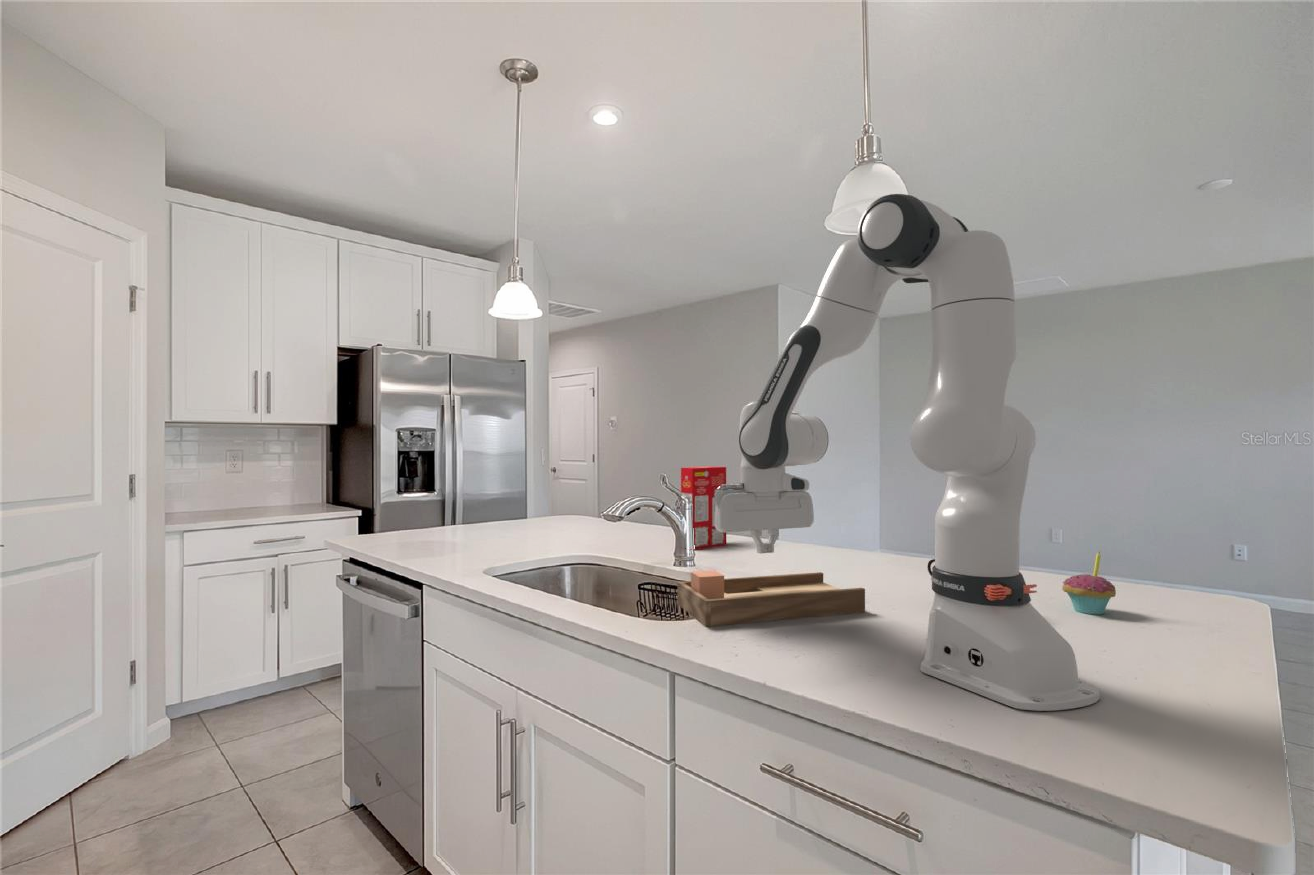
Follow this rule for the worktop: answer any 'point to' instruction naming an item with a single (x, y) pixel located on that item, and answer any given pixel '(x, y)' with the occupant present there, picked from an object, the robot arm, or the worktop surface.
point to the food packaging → (704, 503)
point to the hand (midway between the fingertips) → (765, 552)
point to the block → (708, 584)
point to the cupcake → (1089, 591)
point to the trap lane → (770, 599)
